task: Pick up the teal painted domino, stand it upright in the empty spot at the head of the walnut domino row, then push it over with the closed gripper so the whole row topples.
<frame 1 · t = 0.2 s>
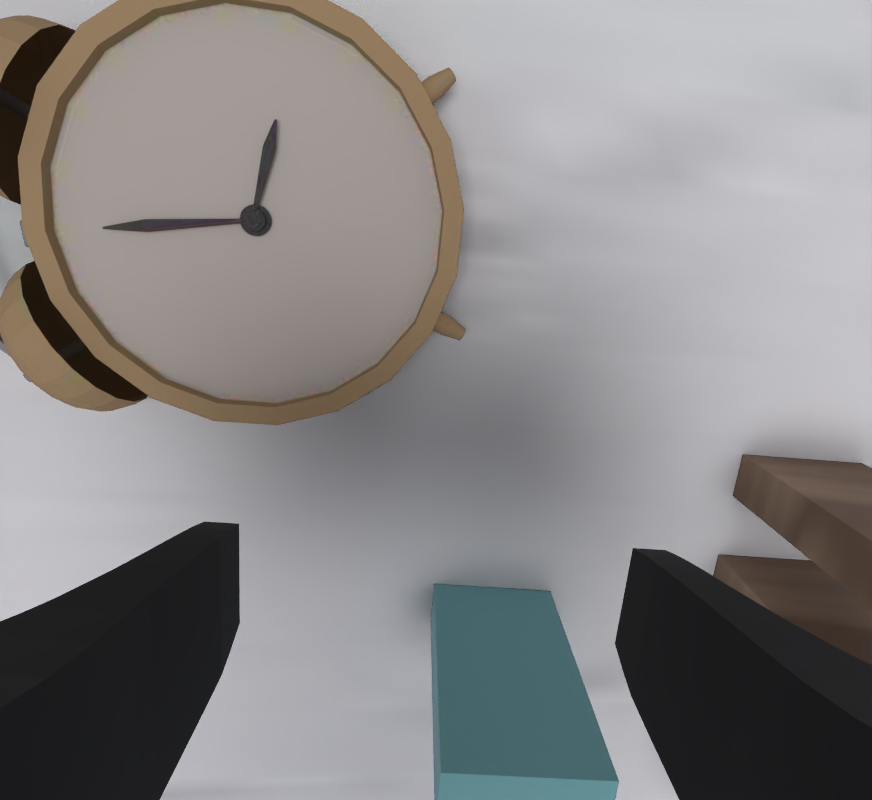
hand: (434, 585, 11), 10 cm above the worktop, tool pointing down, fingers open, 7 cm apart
domino 5: (797, 479, 21), on the worktop
teal domino: (490, 606, 22), on the worktop
domino 4: (770, 577, 22), on the worktop
alarm clock: (223, 226, 19), on the worktop
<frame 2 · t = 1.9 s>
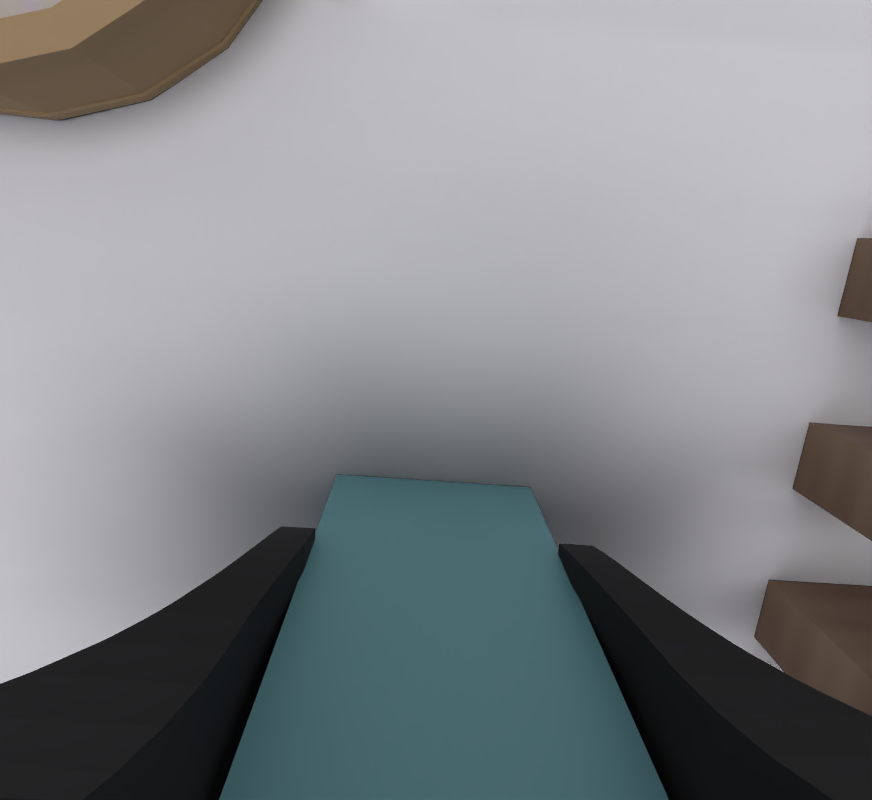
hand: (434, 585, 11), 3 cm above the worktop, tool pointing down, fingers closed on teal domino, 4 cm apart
teal domino: (431, 513, 13), on the worktop, touching gripper
domino 3: (847, 613, 14), on the worktop
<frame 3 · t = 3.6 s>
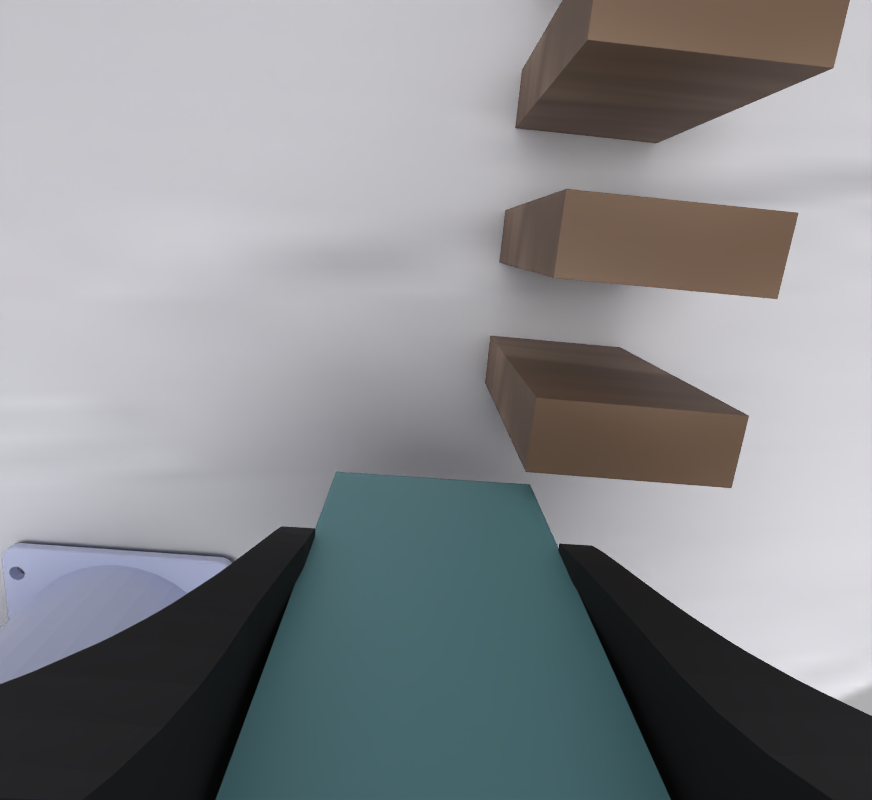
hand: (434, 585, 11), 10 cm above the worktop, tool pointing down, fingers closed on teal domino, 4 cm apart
domino 2: (552, 365, 20), on the worktop
teal domino: (431, 510, 13), point 7 cm above the worktop, touching gripper
domino 4: (590, 107, 18), on the worktop
domino 3: (570, 243, 19), on the worktop
when the fingers open (4 cm above the worktop, at t = 5.7 s): teal domino stays where it is, on the worktop.
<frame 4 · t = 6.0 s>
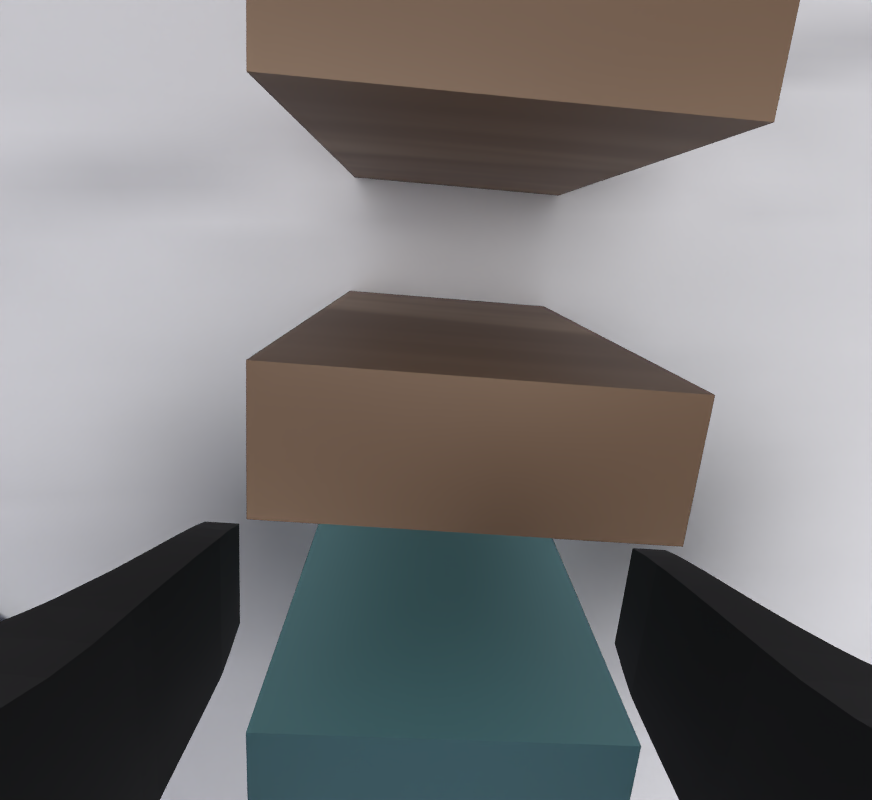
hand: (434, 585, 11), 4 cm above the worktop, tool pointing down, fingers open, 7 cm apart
domino 2: (444, 334, 13), on the worktop
teal domino: (430, 493, 14), on the worktop
domino 3: (460, 146, 12), on the worktop
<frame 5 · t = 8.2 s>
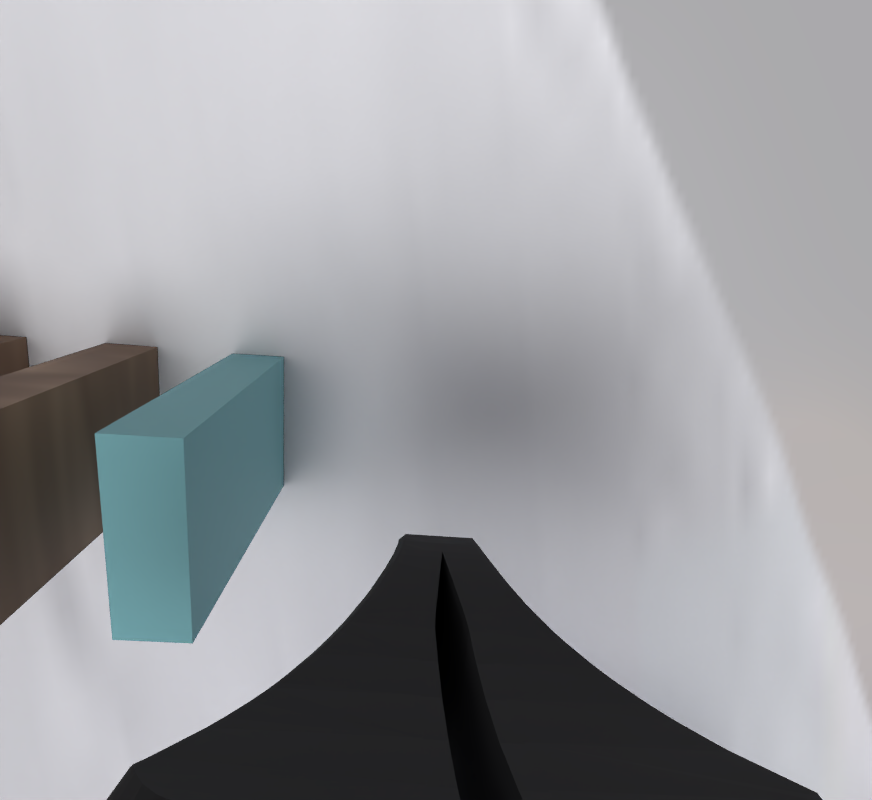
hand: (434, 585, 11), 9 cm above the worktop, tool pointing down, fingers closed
domino 2: (134, 412, 19), on the worktop
teal domino: (258, 421, 19), on the worktop
domino 3: (7, 403, 19), on the worktop
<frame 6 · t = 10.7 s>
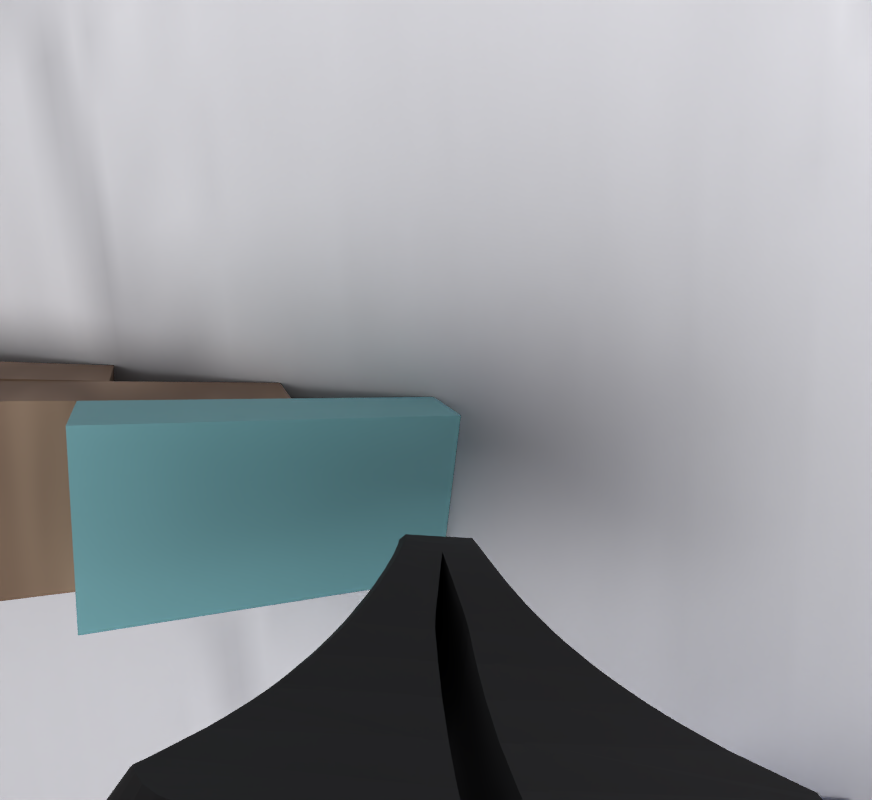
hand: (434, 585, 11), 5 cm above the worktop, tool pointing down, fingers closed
domino 2: (281, 473, 15), point 1 cm above the worktop, tilted 67°, touching domino 3, teal domino
teal domino: (436, 486, 15), point 1 cm above the worktop, tilted 67°, touching domino 2
domino 3: (111, 457, 15), point 1 cm above the worktop, tilted 67°, touching domino 2, domino 4
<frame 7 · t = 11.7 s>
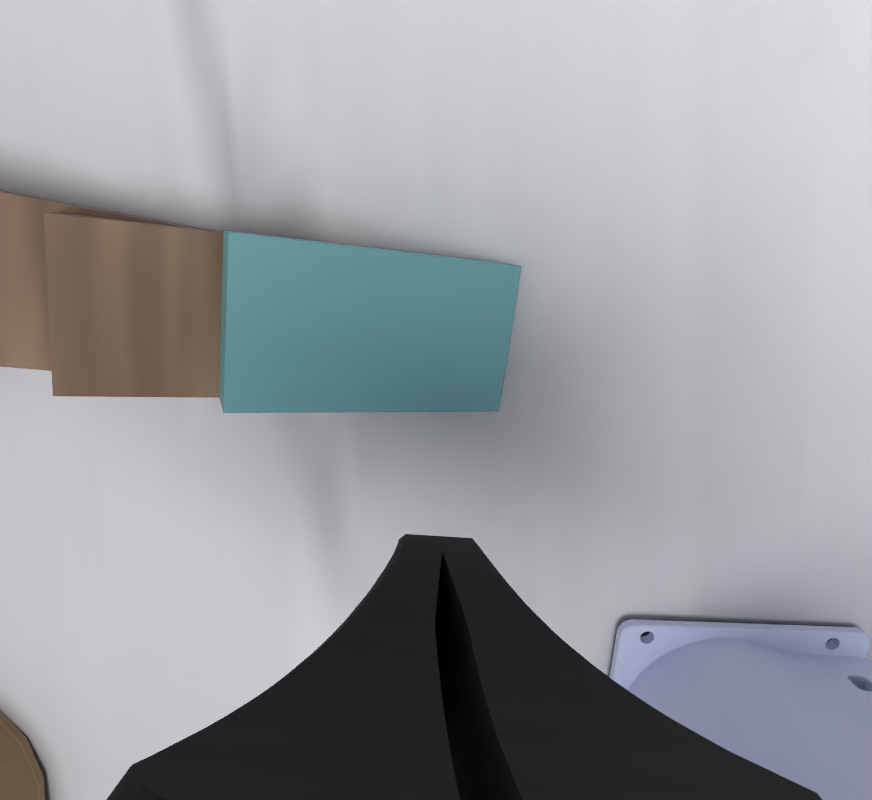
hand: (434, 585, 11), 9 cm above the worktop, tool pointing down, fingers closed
domino 2: (361, 322, 18), point 1 cm above the worktop, tilted 69°, touching domino 3, teal domino
teal domino: (496, 335, 18), point 1 cm above the worktop, tilted 68°, touching domino 2
domino 3: (205, 306, 18), point 1 cm above the worktop, tilted 69°, touching domino 2, domino 4
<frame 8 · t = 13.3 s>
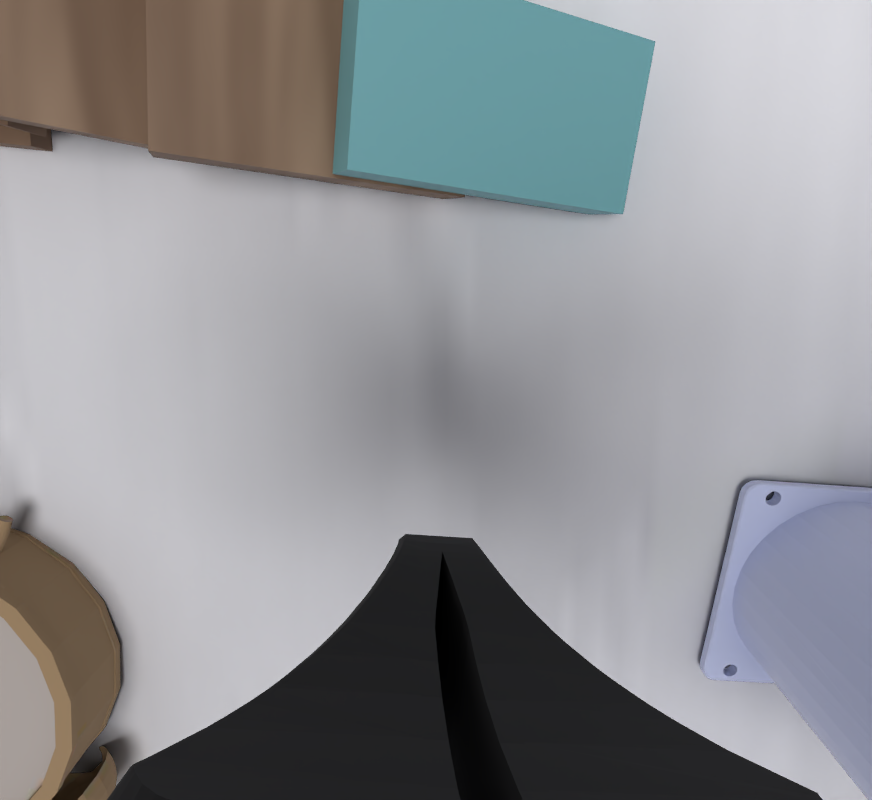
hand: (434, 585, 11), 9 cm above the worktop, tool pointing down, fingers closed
domino 5: (42, 66, 16), on the worktop, tilted 90°, touching domino 4
domino 2: (462, 116, 17), point 1 cm above the worktop, tilted 70°, touching teal domino
teal domino: (619, 134, 17), point 1 cm above the worktop, tilted 70°, touching domino 2
domino 4: (34, 41, 15), point 2 cm above the worktop, tilted 89°, touching domino 5
domino 3: (241, 79, 16), point 1 cm above the worktop, tilted 61°
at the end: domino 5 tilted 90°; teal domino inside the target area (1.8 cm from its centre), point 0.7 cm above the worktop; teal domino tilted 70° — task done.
